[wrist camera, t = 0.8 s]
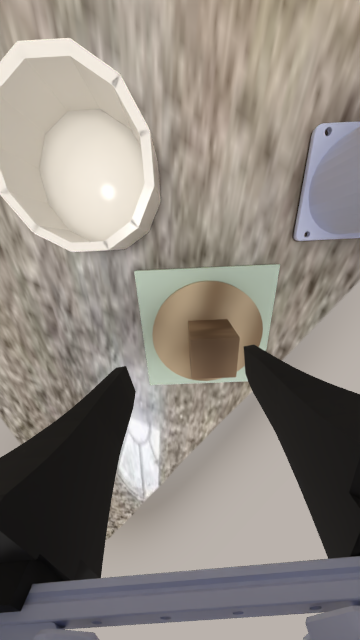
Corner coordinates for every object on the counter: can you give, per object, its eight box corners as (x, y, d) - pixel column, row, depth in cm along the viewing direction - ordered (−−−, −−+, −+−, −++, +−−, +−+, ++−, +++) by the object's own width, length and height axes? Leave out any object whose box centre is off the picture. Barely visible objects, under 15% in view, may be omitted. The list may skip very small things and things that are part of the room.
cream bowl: (153, 100, 13) (142, 33, 9) (164, 247, 17) (159, 247, 13) (18, 108, 13) (-55, 45, 9) (59, 252, 17) (21, 254, 13)
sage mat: (276, 263, 18) (280, 264, 17) (259, 377, 23) (261, 380, 22) (135, 270, 18) (134, 271, 17) (150, 381, 23) (149, 385, 23)
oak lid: (265, 277, 18) (296, 288, 13) (252, 373, 22) (272, 407, 17) (148, 283, 18) (137, 296, 13) (158, 377, 22) (153, 411, 17)
